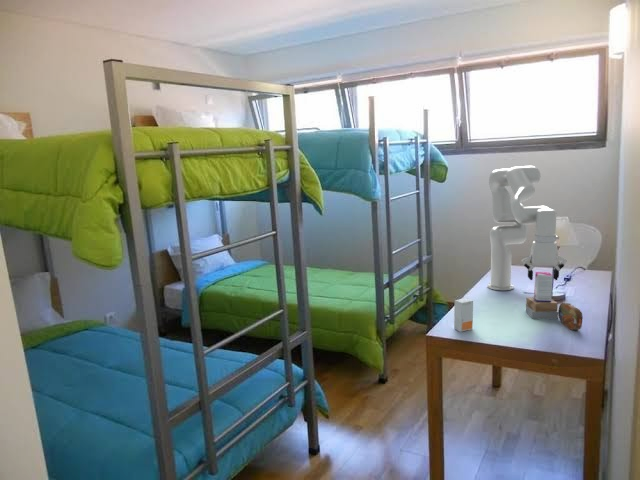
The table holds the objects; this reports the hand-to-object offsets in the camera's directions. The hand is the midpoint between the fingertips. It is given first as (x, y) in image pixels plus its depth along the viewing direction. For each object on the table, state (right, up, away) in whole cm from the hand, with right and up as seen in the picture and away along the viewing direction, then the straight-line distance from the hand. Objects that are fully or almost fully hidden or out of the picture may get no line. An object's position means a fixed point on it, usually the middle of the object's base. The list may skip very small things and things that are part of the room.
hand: (542, 279), depth 201 cm
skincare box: (-36, -19, -9) cm, 42 cm away
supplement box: (+1, -9, +2) cm, 9 cm away
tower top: (+1, -12, +2) cm, 13 cm away
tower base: (+1, -16, +3) cm, 16 cm away
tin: (+6, -18, -11) cm, 21 cm away
